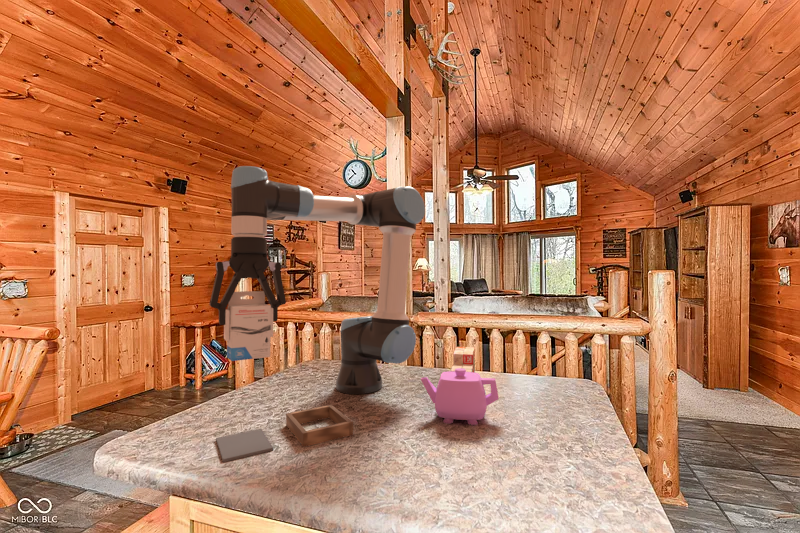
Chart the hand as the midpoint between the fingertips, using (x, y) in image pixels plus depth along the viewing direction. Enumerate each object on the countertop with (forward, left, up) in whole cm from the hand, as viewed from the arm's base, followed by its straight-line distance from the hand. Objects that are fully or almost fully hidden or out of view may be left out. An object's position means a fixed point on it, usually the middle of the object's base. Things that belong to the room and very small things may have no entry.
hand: (248, 337), depth 89 cm
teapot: (-50, +13, -24) cm, 57 cm away
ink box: (0, 0, -5) cm, 5 cm away
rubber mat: (+1, 0, -24) cm, 24 cm away
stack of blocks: (-65, -3, -24) cm, 69 cm away
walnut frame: (-16, +1, -24) cm, 29 cm away
